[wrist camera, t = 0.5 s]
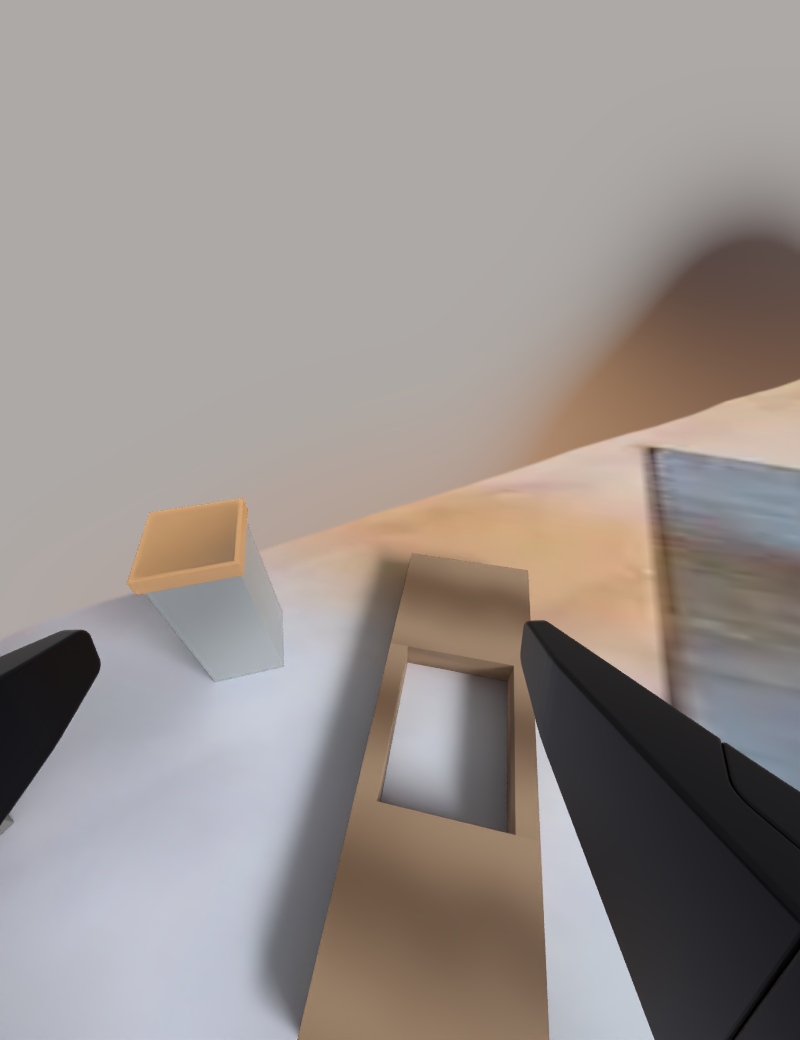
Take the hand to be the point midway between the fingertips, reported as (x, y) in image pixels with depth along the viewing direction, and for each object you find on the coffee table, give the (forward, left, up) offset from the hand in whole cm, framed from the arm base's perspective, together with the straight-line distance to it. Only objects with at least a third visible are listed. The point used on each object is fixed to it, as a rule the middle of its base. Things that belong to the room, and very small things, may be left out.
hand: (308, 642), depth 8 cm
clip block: (+7, +9, -15) cm, 19 cm away
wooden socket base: (+4, -4, -15) cm, 16 cm away
